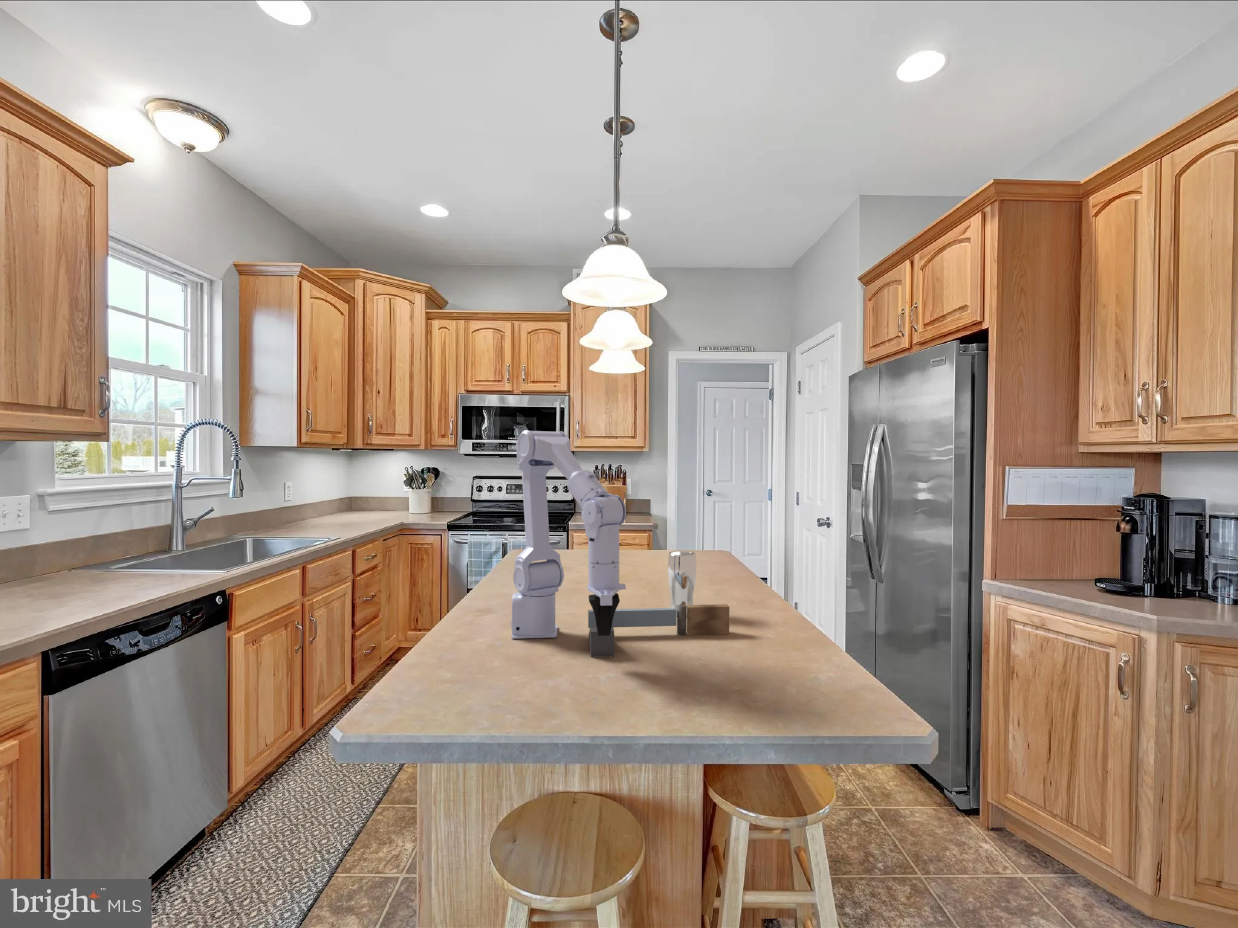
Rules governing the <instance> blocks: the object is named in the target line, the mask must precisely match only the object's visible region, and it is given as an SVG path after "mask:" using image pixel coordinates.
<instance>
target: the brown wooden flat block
mask: <svg viewBox="0 0 1238 928" xmlns="http://www.w3.org/2000/svg"><path fill="white" fill-rule="evenodd" d="M676 634H677V636H686V635H688V636H702V635H703V636H706V635H707V636H708V635H711V636H712V635H730V606H729V605H728V604H727V603H725V604H724V603H721V604H693V605H687V618H686V606H684V605H678V606H677V617H676Z"/></svg>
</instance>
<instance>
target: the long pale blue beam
mask: <svg viewBox="0 0 1238 928" xmlns="http://www.w3.org/2000/svg"><path fill="white" fill-rule="evenodd" d="M587 611H588V612H587V617H588V618H587V620H588V621H587V626H588V627H587V628H588V629H590V627H597V626H596V619H595V614H594V611H593V609H587ZM612 626H613V628H640V627H643V628H644V627H645V628H646V627H648V628H649V627H677V617H676V608H670V607H657V608H656V607H655V608H654V607H653V608H652V607H651V608H616V610H615V613H614V617H613V622H612Z"/></svg>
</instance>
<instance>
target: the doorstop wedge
mask: <svg viewBox="0 0 1238 928" xmlns="http://www.w3.org/2000/svg"><path fill="white" fill-rule="evenodd" d="M588 632H589V633H588V646H589V653H590V658H609V657H611V658H614V657H615V629H614V627H613V626H612V628H611V632H610V635H609V636H599V635H598V631H597V627H590V628H589V631H588Z"/></svg>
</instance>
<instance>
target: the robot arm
mask: <svg viewBox="0 0 1238 928" xmlns="http://www.w3.org/2000/svg"><path fill="white" fill-rule="evenodd" d="M515 444H516V445H515V449H516V462H517V469H518V470H520V471H521V481H522V496H523V514H524V515H523V516H524V531H525V548H524V549H523V550H522V552H520V553H519V554H518V555H517V556H516V557H515V559H514V569H513V576H512V579H513V585H514V587H515V589H516V590H517V592H514V593H513V594H512V598H511V599H512V601H511V621H510V622H511V623H510V625H511V639H516V640H517V639H550V638H551V639H553V638H557V637H558V628H559V627H558V624H556V593H558V592H559V588H560V587H561V586H562V585H563V582H564V578H565V572H564V568H563V565H562V562H561V555H560V553H558V552H557V551H556V550H555V549H553V548H552V547H551V543H550V526H549V510H548V493H547V480H546V479H547V474H548V473H549V472H550V471H551V470H553V469H555V468H556V469H557V470H558V471H559V472H560V473H561V474H562V475H563V476H564V477H565V478H566V479H567V481H568V482H567V490H568V491H569V493H570V494H571V496H572V497H573V498H574V500H575V501H576V502H577V504H578V505H579V508H580V509H581V510H582V511H581V519H582V522H583V524H584V529H585V535H586V537H587V538H588V542H587V543H588V545H587V547H588V548H587V549H588V555H587V556H588V557H587V558H588V559H587V560H588V564H587V565H588V573H587V574H588V580H587V581H588V584H587V586H586V587H587V591H588V592H590V593H592V594H589V595H588V602H589V604H590V607H591V608H592V610H593V611H594V614H595V619H596V626H597V631H598V635H599V636H609V635H610V632H611V628H612V622H613V617H614V613H615V610H616V609H618V606H619V604H620V601H621V600H620V596H619V593H618V592H619V591H623V590H626V587H627V586H626V584H625V583H620V527H621V526H622V525H623V523H624V522H625V520H626V517H627V516H626V515H627V509H626V505H625V502H624V501H623V499H622V497H621V496H619V495H617V494H613V493H610V492H608V490H606V488H605V487H604V486H603V484H602V483H601V482H600V480H599V479H598V478H597V477H596V475H595V473H594V472H593V471H591V470H587V469H583V468H582V467H581V465H580V463H579V462H578V461H577V459H576V457H575V455H574V454H573V452H572V451H571V441H570V438H568V437H567V434H566V432H564V431H562V430H561V431H560V430H559V431H543V430H542V431H541V430H526V429H525V430H523V431H522V432H521V433H520V435H519V436H518V438H517V440H516V442H515Z"/></svg>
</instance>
